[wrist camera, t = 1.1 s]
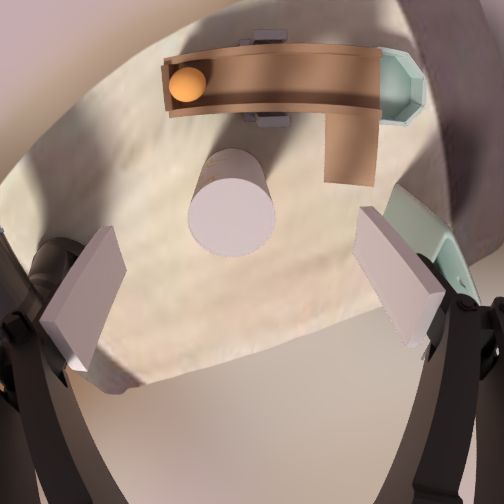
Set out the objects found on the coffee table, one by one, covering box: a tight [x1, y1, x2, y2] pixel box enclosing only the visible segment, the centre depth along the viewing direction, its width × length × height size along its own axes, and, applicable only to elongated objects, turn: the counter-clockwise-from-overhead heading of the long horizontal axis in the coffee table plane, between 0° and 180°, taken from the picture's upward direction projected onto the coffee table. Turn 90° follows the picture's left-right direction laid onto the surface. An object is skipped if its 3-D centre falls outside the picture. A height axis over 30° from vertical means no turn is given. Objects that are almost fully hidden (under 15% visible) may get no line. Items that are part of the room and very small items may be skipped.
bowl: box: [372, 46, 426, 127], centre depth 29 cm, size 10×10×4 cm
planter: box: [383, 184, 481, 306], centre depth 35 cm, size 16×8×20 cm, turn 33°
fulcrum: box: [239, 30, 290, 128], centre depth 26 cm, size 5×10×10 cm, turn 3°
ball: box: [169, 67, 206, 102], centre depth 24 cm, size 4×4×4 cm
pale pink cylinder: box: [188, 148, 276, 257], centre depth 32 cm, size 8×8×12 cm
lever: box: [161, 43, 382, 187], centre depth 25 cm, size 20×13×3 cm
